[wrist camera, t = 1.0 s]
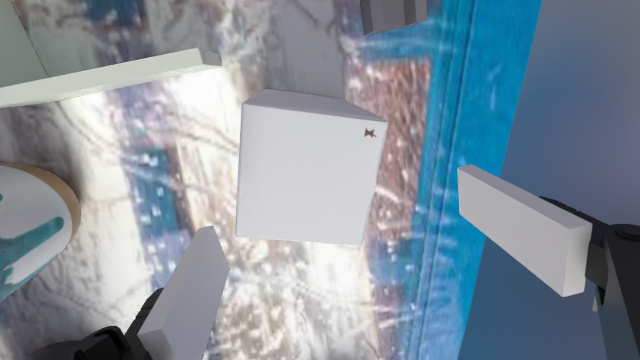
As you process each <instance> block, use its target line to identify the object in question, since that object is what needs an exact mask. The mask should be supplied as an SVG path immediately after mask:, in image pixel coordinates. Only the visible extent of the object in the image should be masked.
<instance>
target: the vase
mask: <svg viewBox="0 0 640 360" xmlns="http://www.w3.org/2000/svg"><path fill="white" fill-rule="evenodd" d="M80 220H81V208H80V204H79V201H78V199H77V197H76V195H75V193H74V192H73V190H72V189H71V188H70V187H69V185H67V184H66V183H65V182H64V181H63V180H62V179H60V178H59V177H57V176H56V175H54V174H52V173H51V172H49V171H46V170H44V169H41V168H38V167H34V166H30V165H24V164H15V163H4V164H0V302H1V301H2V300H3V299H5V298H6V297H7V296H9V295H10V294H11V293H13V292H14V291H15V290H17V289H18V288H19V287H21V286H22V285H23V284H25V283H26V282H27V281H28V280H30V279H31V278H32V277H33V276H35V275H36V274H37V273H38V272H40V271H41V270H42V269H43V268H44V267H45V266H47V265H48V264H49V263H50V262H51V261H52V260H53V259H54V258H55V257H56V256H57V255H58V254H59V253H60V252H61V251H62V250H63V249H64V248H65V247H66V246H67V245H68V244H69V243H70V242H71V240H72V239H73V237H74V236H75V234H76V233H77V230H78V227H79V225H80Z"/></svg>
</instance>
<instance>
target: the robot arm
mask: <svg viewBox="0 0 640 360" xmlns="http://www.w3.org/2000/svg"><path fill="white" fill-rule="evenodd" d="M457 169H458V190H459V210H460V214H461V215H462V216H463V217H464V218H466V219H467V220H468V221H469V222H471V223H472V224H473V225H474V226H476V227H477V228H478V229H479V230H480V231H482V232H483V233H484V234H485V235H487V236H488V237H490V238H491V239H492V240H493V241H494V242H495V243H497V244H498V245H499V246H500V247H502V248H503V249H504V250H505V251H506V252H508V253H509V254H510V255H511V256H513V257H514V258H515V259H516V260H518V261H519V262H520V263H522V264H523V265H524V266H525V267H526V268H528V269H529V270H530V271H531V272H532V273H534V274H535V275H536V276H537V277H539V278H540V279H541V280H543V281H544V282H545V283H546V284H547V285H549V286H550V287H551V288H552V289H554V290H555V291H556V292H557V293H559V294H560V295H561V296H562V297H565V296H569V295H573V294H577V293H581V292H584V285H585V278H588V279H589V280H591V281H592V282H594V283H595V284H596V290H595V298H594V304H593V311H597V309H598V312H599V317H600V323H601V327H602V333H603V338H604V344H605V349H606V355H607V360H640V226H637V225H630V224H614V225H608V224H606V223H603V222H601V221H599V220H597V219H595V218H593V217H591V216H588V215H586V214H584V213H582V212H580V211H577V210H576V209H574V208H571V207H567V205H565V204H563V203H561V202H558V201H556V200H553V199H549V198H545V197H541V196H540V197H537V196H535V195H533V194H530V193H529V192H526V191H524V190H522V189H520V188H518V187H516V186H514V185H512V184H510V183H508V182H506V181H504V180H502V179H500V178H498V177H496V176H494V175H492V174H490V173H488V172H486V171H483V170H481V169H479V168H477V167H475V166H473V165H468V166H463V167H459V168H457ZM229 269H230V268H229V266H228V263H227V261H226V258H225V255H224V253H223V250H222V248H221V245H220V242H219V240H218V237H217V234H216V232H215V229H214V227H213V226H209V227H205V228H200V229H198V231H197V232H196V234H195V236H194V238H193V239H192V241H191V243H190V244H189V246H188V248H187V250H186V251H185V253H184V255H183V256H182V258H181V260H180V262H179V263H178V265H177V267H176V268H175V270H174V272H173V274H172V275H171V277H170V279H169V281H168V282H167V284H166V286H165V287H164V288H160V289H157V290H156V291H155V292H154V293H153V294H152V295H151V296H150V297H149V298H148V299H147V300H146V302H145V303H144V305H143V306H142V308H141V311H139V313H138V314H137V316H136V317H135V318H136V319H135V320H134V321H133V322H132V324H131V325H130V327H129V329H128V330H127V332H126V333H125V335H124V334H123V333H122V331H121V329H120V328H119V327H117V326H108V327H105V328H102V329H100V330H98V331H96V332H94V333H92V334H91V335H89V336H88V337H86V338H85V339H84V340H82V341H81V342H64V343H58V344H54V345H50V346H47V347H45V348H42V349H40V350H39V351H37V352H35V353H34V354H33V355H31V356H30V357H29V358H28V359H27V360H202V359H203V356H204V352H205V349H206V346H207V342H208V339H209V336H210V333H211V329H212V326H213V323H214V319H215V316H216V313H217V309H218V306H219V303H220V299H221V296H222V293H223V289H224V286H225V283H226V279H227V276H228V273H229Z"/></svg>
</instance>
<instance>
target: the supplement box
mask: <svg viewBox="0 0 640 360" xmlns="http://www.w3.org/2000/svg"><path fill="white" fill-rule="evenodd" d="M387 126H388V121H387V120H386V119H383V118H381V117H379V116H377V115H375V114H373V113H371V112H369V111H367V110H365V109H363V108H361V107H359V106H357V105H355V104H353V103H351V102H349V101H346V100H344V99H339V98H332V97H326V96H319V95H312V94H305V93H298V92H291V91H284V90H274V89H263V90H262V91H260V92H259V93H257V94H256V95H254V96H253V97H251V98H250V99H248V100H246V101H245V102H243V103H242V115H241V132H240V150H239V169H238V188H237V208H236V232H235V234H236V237H245V238H256V239H272V240H289V241H303V242H315V243H327V244H339V245H354V246H361V245H362V244H363V240H364V235H365V230H366V225H367V221H368V216H369V211H370V206H371V202H372V198H373V195H374V192H375V188H376V178H377V174H378V169H379V164H380V159H381V154H382V150H383V146H384V141H385V136H386V131H387Z"/></svg>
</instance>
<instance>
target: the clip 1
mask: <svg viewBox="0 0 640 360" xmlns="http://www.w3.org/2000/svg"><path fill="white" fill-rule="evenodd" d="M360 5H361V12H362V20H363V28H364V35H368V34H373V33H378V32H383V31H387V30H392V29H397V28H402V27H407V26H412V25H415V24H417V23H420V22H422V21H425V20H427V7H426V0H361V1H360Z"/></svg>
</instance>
